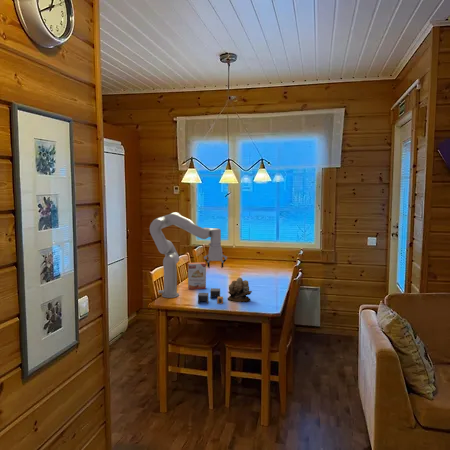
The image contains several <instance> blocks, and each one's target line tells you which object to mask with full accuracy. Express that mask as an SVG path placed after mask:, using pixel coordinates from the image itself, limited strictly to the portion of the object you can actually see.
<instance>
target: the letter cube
mask: <svg viewBox="0 0 450 450" xmlns="http://www.w3.org/2000/svg"><path fill="white" fill-rule="evenodd" d="M216 297H217V298H216V299H217V300H216V301H217V302H216V304H220V305H221V304H223V303H224V296H220V297H219V296H216Z"/></svg>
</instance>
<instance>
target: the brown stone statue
mask: <svg viewBox="0 0 450 450" xmlns="http://www.w3.org/2000/svg"><path fill="white" fill-rule="evenodd" d="M228 290H229V291H227V293H228V294H229V296H228V297H227V301H229V302H233V303H248V302H251V298H250V297H249V296H250V295H251V294H252V293H253V291H252V290H250V286H249V281H248V280H246V279H245V280H243V278H242V277H240V276H239V277H238V278H237V279H236V280H232V281H231V283H230V284H229V285H228Z"/></svg>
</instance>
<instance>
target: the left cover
mask: <svg viewBox="0 0 450 450" xmlns="http://www.w3.org/2000/svg"><path fill="white" fill-rule="evenodd" d="M200 302H206V304H207V305H208V304H209V292H198V294H197V304H198V305H199V304H200Z"/></svg>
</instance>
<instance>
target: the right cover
mask: <svg viewBox="0 0 450 450" xmlns="http://www.w3.org/2000/svg"><path fill="white" fill-rule="evenodd" d="M209 293H210V295H209V296H210V297H209V299H210V300H211V299H212V297H221V288H218V287H217V288H212V287H211V288H210V291H209Z"/></svg>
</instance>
